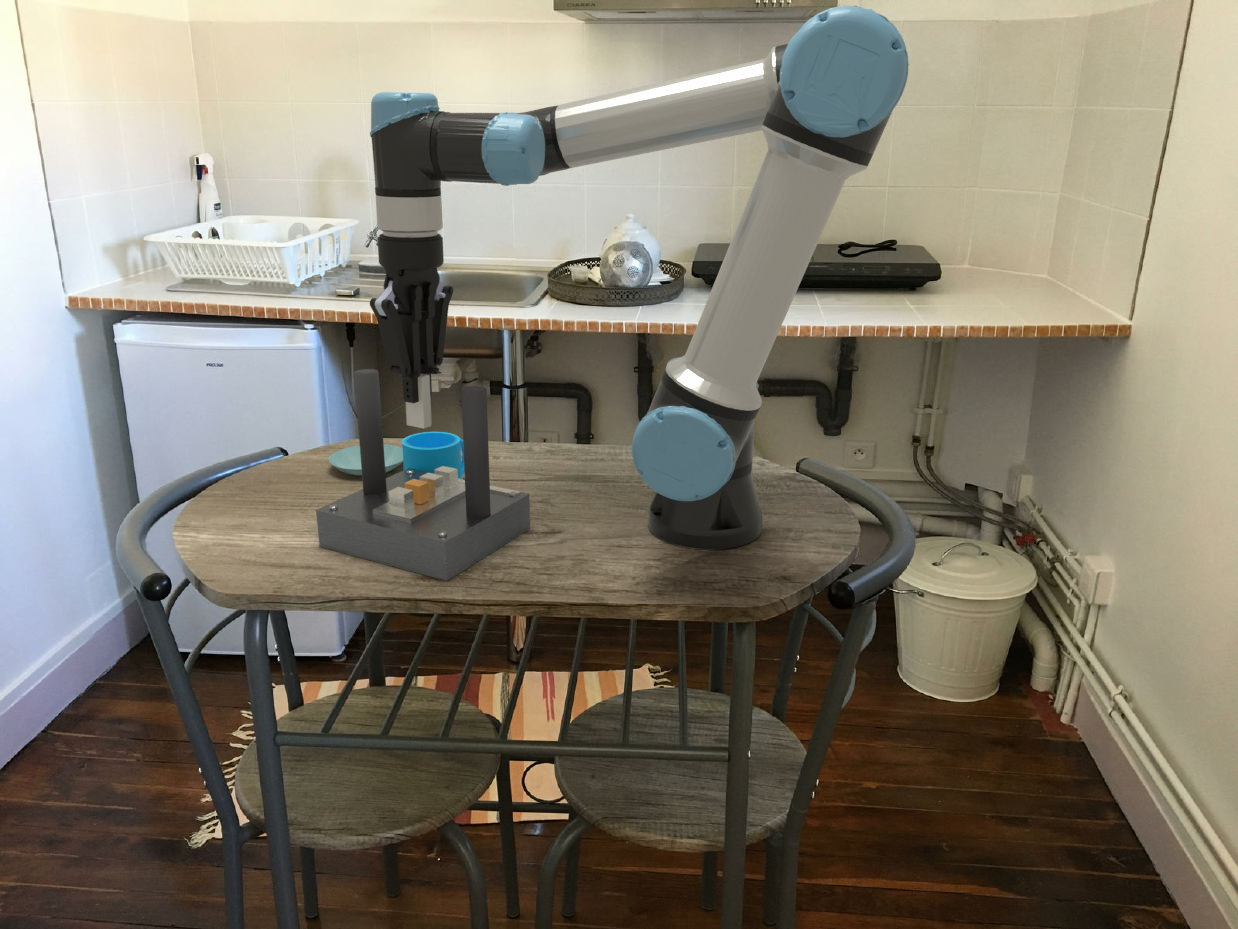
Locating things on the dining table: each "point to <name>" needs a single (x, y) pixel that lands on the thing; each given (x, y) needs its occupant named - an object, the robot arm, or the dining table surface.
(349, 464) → the saucer
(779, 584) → the dining table surface
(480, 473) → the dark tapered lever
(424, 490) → the orange cube
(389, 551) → the breaker panel
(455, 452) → the mug
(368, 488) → the dark grey upright post
